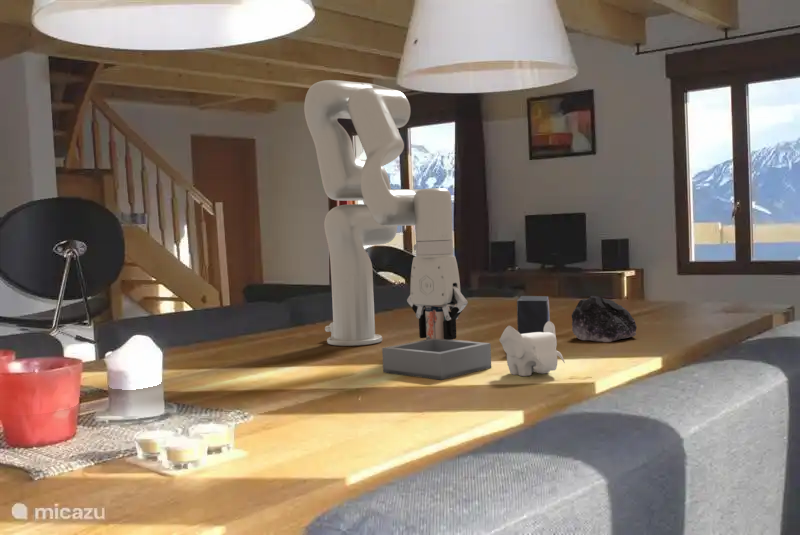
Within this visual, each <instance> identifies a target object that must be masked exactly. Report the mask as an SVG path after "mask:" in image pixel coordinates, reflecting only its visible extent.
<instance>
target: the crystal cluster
mask: <svg viewBox="0 0 800 535" xmlns="http://www.w3.org/2000/svg"><path fill="white" fill-rule="evenodd" d="M571 320H572V322H571V326H572V333H573V335H575V336H576V338H577V339H578V340H581V341H591V342H597V343H598V342H601V343H610V342H614V341H615V342H616V341H618V340H621V339H622V340H623V339H628V338H629V339H630V338H633V337H635V336H636V335H637V332H636V331H637V324H636V320H635V319H634V318H633V316H632V315H631V312H630V311H628V310H627V309H626V308H624V307H623V306H622V305H620V304H618V303H616V302H615V301H614V300H611V299H606V298H604V297H600V296H598V295H596V296H595V295H591V296H589V298H587V299H586V298H583V299H580V300H579V301H578V303H577V305H576V306H575V308H574V309H573V311H572V314H571Z"/></svg>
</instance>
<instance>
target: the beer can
mask: <svg viewBox="0 0 800 535" xmlns="http://www.w3.org/2000/svg"><path fill="white" fill-rule="evenodd" d="M424 308H425V317H426V338H425V340H427V339H432V338H435V339H444V329H443V321H444V320H446V318H445V315H444V312H443V309H442V307H435V306H425V307H424Z"/></svg>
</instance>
